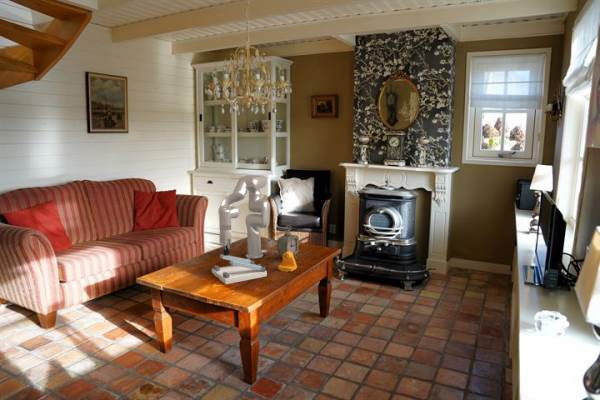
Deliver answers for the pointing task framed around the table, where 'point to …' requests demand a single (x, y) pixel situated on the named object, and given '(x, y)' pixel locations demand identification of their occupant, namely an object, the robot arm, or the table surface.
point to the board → (237, 273)
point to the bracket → (288, 262)
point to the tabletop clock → (288, 243)
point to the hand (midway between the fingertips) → (226, 255)
